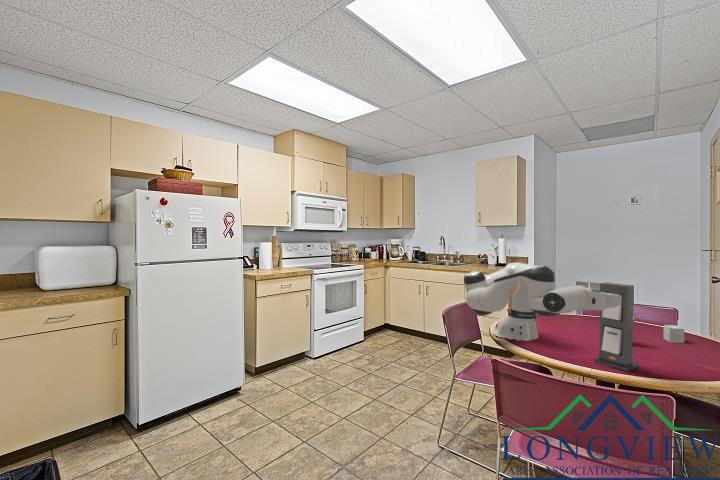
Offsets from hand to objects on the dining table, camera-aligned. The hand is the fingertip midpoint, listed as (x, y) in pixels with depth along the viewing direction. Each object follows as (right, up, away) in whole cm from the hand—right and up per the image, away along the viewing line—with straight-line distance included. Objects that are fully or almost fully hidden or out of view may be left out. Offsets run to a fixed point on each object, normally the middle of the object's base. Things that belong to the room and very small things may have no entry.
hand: (598, 293), depth 132 cm
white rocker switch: (+11, -12, +8) cm, 17 cm away
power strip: (+14, -32, +10) cm, 36 cm away
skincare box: (+65, -30, +39) cm, 82 cm away
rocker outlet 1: (+11, -26, +8) cm, 29 cm away
